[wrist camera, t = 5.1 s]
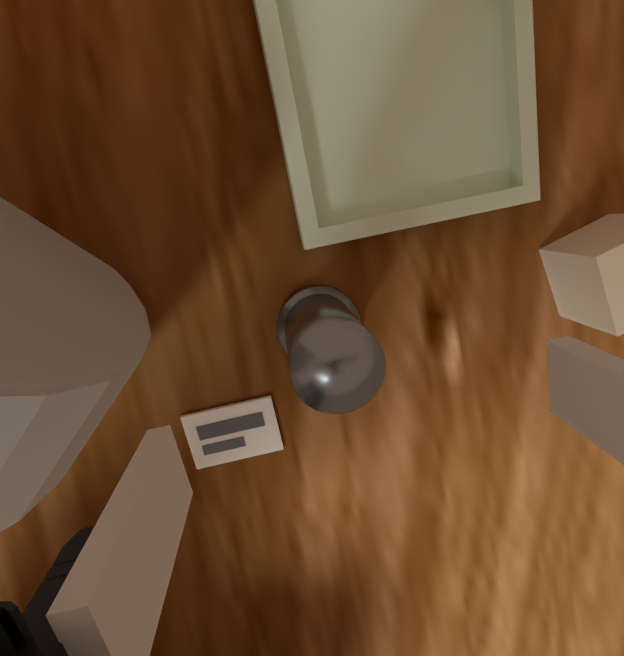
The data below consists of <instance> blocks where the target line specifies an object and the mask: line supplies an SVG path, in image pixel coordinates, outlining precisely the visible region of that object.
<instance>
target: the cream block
mask: <svg viewBox="0 0 624 656" xmlns="http://www.w3.org/2000/svg"><path fill="white" fill-rule="evenodd" d="M539 252H540V256H541V259H542V262H543V265H544V268H545V271H546V274H547V278H548V281H549V284H550V287H551V290H552V293H553V297H554V300H555V303H556V306H557V309H558V312H559V315H560V316H561V317H564V318H567V319H569V320H572V321H575V322H578V323H581V324H583V325H586V326H589V327H592V328H595V329H597V330H600V331H603V332H606V333H609V334H611V335H614V336H617V337H618V336H620V335H622V334H624V214H608V215H606V216H604V217H602V218H600V219H598V220H596V221H594V222H592V223H590V224H588V225H586V226H584V227H582V228H580V229H578V230H576V231H574V232H572V233H570V234H568V235H566V236H564V237H562V238H560V239H558V240H556V241H554V242H552V243H550V244H548V245H546V246H544V247H542V248H540V249H539Z"/></svg>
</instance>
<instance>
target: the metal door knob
mask: <svg viewBox="0 0 624 656" xmlns="http://www.w3.org/2000/svg"><path fill="white" fill-rule="evenodd" d="M277 329H278V337H279V340H280V343H281V345H282V347H283V349H284V351H285V352H286V353H287V354H288V360H289V367H290V373H291V380H292V384H293V387H294V389H295V391H296V393H297V394H298V396H299V397H300V398H301V399H302V401H303V402H305V403H306V404H307V405H308V406H310V407H311V408H313V409H315V410H317V411H320V412H324V413H329V414H342V413H347V412H351V411H354V410H356V409H358V408H360V407H362V406H364V405H365V404H366V403H368V402H369V401H370V400H371V399H372V398H373V397H374V396H375V394H376V393H377V392H378V390H379V389H380V387H381V385H382V382H383V379H384V376H385V367H386V365H385V357H384V353H383V351H382V348H381V347H380V345H379V343H378V342H377V341H376V339H375V338H374V337H373V336H372V335H371V333H370V332H369V331H368V330H367V329H366V327H365V326H364V325H363V324H362V323H361V322H360V317H359V313H358V311H357V309H356V307H355V305H354V304H353V302H352V301H351V300H350V299H349V298H348V297H347V296H346V295H345V294H344V293H343V292H341V291H340V290H338V289H336V288H333V287H331V286H327V285H311V286H307V287H304V288H302V289H300V290H298V291H296V292H295V293H293V294H292V295H291V296H290V297H289V298H288V299H287V300H286V301H285V303H284V304H283V306H282V308H281V310H280V313H279V316H278V322H277Z"/></svg>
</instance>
